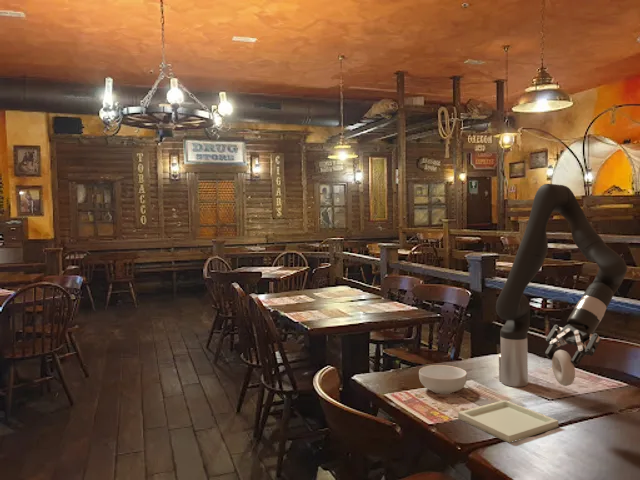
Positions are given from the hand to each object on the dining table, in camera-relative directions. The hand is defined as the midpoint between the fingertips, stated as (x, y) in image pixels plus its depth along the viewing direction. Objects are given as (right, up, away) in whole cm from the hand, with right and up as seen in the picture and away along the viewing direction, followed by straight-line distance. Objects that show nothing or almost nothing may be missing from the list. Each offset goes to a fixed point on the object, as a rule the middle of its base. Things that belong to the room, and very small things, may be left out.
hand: (560, 360), depth 144 cm
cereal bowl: (-24, -20, +39) cm, 50 cm away
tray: (-12, -21, +9) cm, 26 cm away
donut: (+2, -7, +1) cm, 8 cm away
